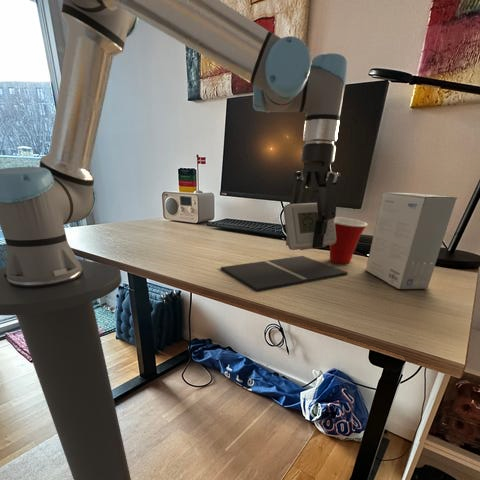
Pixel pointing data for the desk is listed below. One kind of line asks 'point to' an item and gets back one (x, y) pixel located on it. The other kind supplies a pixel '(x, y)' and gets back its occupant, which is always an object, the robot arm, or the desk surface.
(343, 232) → the plastic cup
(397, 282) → the hard drive box
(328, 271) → the desk mat
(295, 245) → the digital clock
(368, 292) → the desk surface
